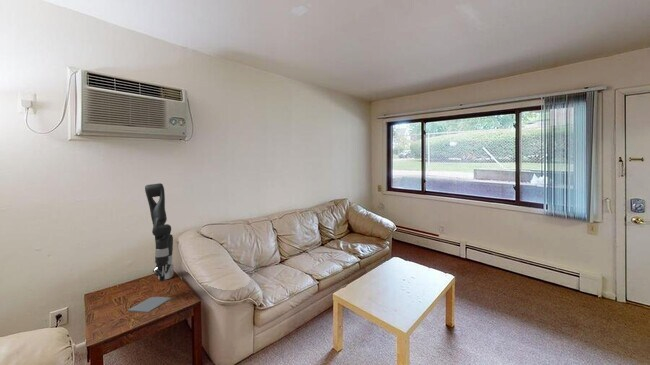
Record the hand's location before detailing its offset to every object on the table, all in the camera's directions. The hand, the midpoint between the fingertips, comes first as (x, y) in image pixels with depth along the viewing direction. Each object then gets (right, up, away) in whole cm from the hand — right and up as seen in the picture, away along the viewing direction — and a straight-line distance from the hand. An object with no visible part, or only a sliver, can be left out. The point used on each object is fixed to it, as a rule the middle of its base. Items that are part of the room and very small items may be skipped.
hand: (162, 281), depth 166 cm
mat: (-1, -11, -9) cm, 14 cm away
